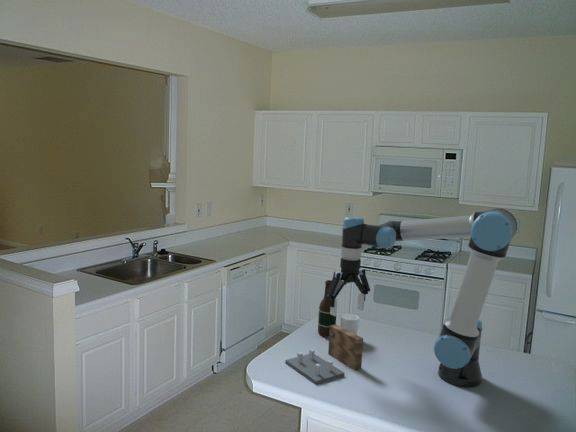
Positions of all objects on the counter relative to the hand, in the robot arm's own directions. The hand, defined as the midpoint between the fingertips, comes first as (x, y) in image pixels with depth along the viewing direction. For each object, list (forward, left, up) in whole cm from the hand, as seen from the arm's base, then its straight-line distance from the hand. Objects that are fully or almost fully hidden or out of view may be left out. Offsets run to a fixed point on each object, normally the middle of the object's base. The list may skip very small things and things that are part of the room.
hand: (346, 312), depth 187 cm
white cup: (+16, -16, -20) cm, 30 cm away
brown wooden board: (0, 0, -20) cm, 20 cm away
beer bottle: (+25, -11, -20) cm, 34 cm away
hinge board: (0, +14, -20) cm, 24 cm away
